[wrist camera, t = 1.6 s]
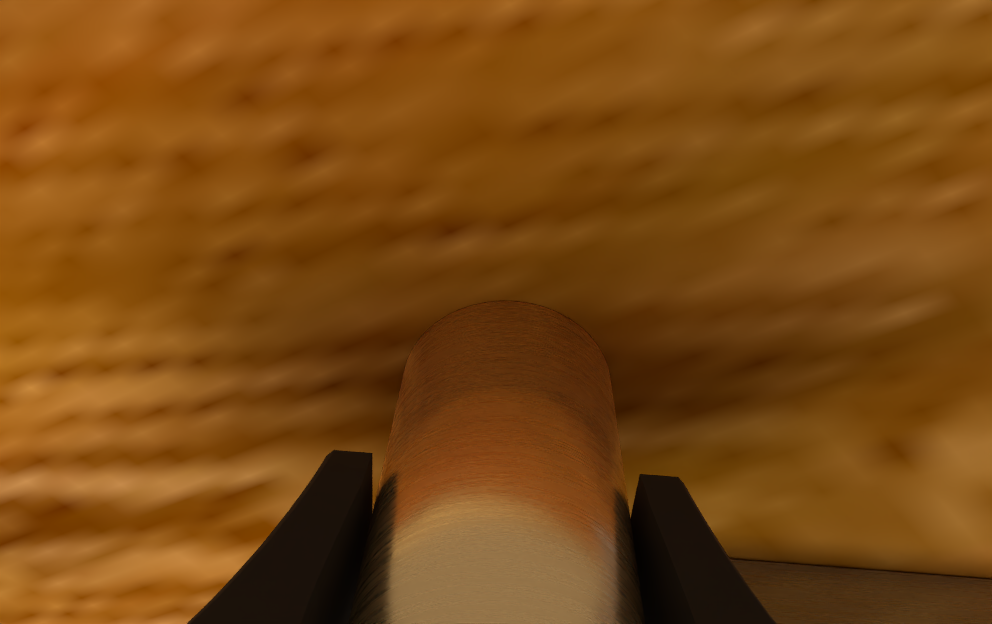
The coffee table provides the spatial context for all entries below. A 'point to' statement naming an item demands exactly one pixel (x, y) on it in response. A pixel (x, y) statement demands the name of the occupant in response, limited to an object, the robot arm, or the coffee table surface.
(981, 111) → the coffee table surface
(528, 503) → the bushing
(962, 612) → the jig
